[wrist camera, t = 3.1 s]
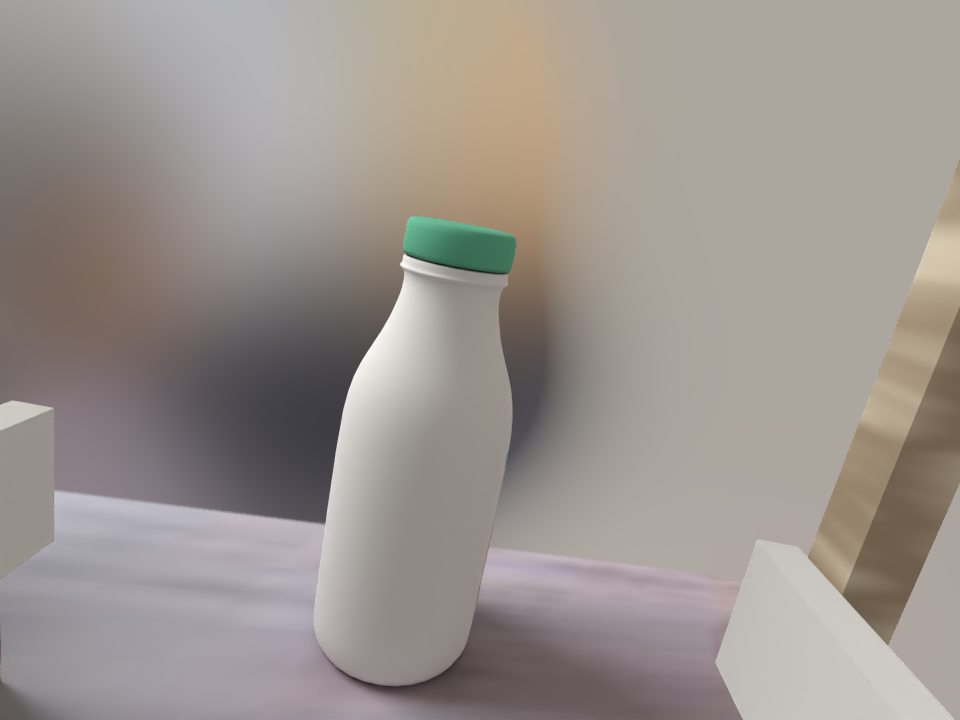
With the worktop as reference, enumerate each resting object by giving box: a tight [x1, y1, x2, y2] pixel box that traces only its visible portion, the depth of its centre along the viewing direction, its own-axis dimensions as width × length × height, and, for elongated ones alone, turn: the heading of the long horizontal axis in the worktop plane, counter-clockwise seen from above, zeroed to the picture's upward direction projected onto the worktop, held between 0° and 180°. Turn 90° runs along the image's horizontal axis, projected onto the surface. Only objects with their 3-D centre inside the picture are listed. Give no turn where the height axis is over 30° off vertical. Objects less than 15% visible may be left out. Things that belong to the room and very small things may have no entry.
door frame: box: [0, 160, 960, 681], centre depth 17 cm, size 32×2×33 cm, turn 88°
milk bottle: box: [313, 216, 516, 686], centre depth 26 cm, size 8×8×20 cm
